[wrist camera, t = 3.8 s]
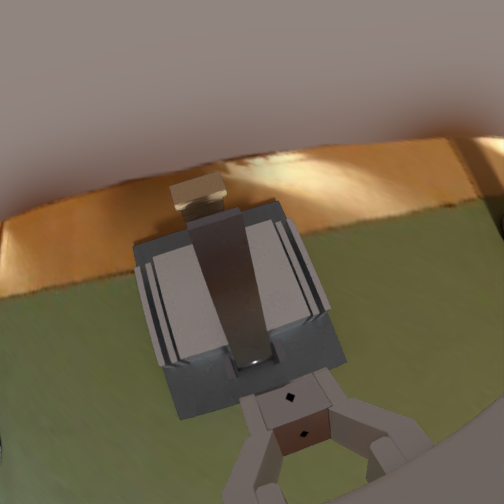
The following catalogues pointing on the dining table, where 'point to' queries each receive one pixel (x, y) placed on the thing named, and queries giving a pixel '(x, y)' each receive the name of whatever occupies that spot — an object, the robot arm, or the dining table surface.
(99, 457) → the dining table surface
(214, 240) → the retention strap
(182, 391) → the grey boxy piece
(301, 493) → the dining table surface
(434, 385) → the dining table surface
